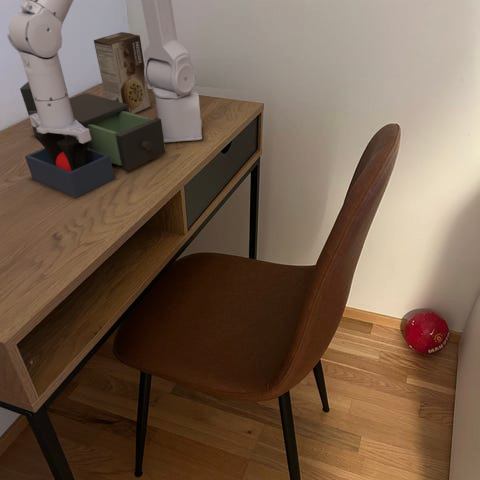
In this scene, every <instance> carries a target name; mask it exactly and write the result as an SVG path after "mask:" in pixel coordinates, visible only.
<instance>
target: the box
mask: <svg viewBox="0 0 480 480" xmlns="http://www.w3.org/2000/svg"><path fill="white" fill-rule="evenodd" d="M24 158H25V161H26V163H27V166H28V170H29V173H30V175H31V176H30V177H31V178H32V180H34V181H37V182H39V183H41V184H43V185H46V186H48V187H50V188H53V189H55V190H57V191H59V192H62V193H64V194H67V195H69V196H71V197H74V198H76V199H77V198H79V197H81V196H83V195H85V194H87V193H89V192H91V191H94V190H95V189H97V188H99V187H101V186H103V185H105V184H107V183H109V182H112V181H113V180H115V174H114V173H115V172H114V168H113V163H111V159H110V156H109V155H106V154H104V153H101V152H98V151H95V150H92V149H89V148H87V151H86V163H85V165H84V166H82V167H80V168H78V169H75V170H73V171H71V172H69V171H67V170H64V169H62V168H59V167H57V166H55V164H54V162H53V160H52V159H51V157H50V155H49V154H48V152H47V151H46V149H45V148H44V147H43V148H41V149H39V150H36V151H34V152H32V153H29V154H26V155H24Z"/></svg>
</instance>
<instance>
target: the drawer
mask: <svg viewBox="0 0 480 480" xmlns="http://www.w3.org/2000/svg"><path fill="white" fill-rule="evenodd" d="M86 127H87V129H89V131H90V136H91V140H90V144H91V148H92V150H95V151H98V152H101V153H104V154H106V155H109V156H110V159H111V163H112V164H114V165H116V166H120V167H121V168H122V170H123V171H125V172H128V171H131V170H132V169H135V168H136V167H138V166H141V165H143V164H145V163H147V162H149V161H151V160H153V159H155V158H157V157H159V156H161V155H163V154H165V153H166V147H165V143H164V138H163V130H162V123H161V119H159V118H158V117H156V118H153V119H151V117H147V116H143V115H139V114H137V113H134V114H133V113H129V112H126V111H119V112H117V113H114V114H112V115H109V116H106V117H104V118H101V119H99V120H96V121H94V122H91V123H88V124H86Z"/></svg>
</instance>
